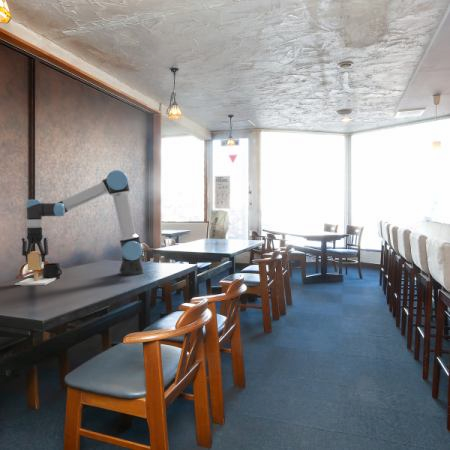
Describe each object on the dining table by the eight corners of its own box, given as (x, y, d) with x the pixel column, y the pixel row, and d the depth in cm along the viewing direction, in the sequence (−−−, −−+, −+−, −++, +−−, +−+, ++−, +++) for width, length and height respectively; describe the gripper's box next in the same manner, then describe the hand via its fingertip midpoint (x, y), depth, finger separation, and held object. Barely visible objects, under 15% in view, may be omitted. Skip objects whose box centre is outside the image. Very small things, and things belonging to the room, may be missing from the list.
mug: (56, 281, 215) (56, 265, 214) (38, 280, 218) (38, 265, 217) (67, 278, 224) (66, 263, 224) (50, 277, 227) (49, 262, 226)
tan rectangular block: (43, 268, 213) (43, 251, 212) (39, 270, 207) (38, 252, 206) (32, 268, 212) (32, 251, 212) (27, 270, 206) (27, 252, 206)
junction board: (58, 278, 222) (58, 266, 222) (45, 284, 202) (44, 272, 202) (30, 278, 221) (30, 267, 220) (14, 285, 201) (14, 272, 201)
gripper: (54, 226, 213) (55, 266, 214) (20, 226, 212) (21, 267, 212) (49, 227, 205) (50, 268, 206) (13, 227, 204) (15, 269, 205)
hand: (35, 267), depth 209 cm, fingers closed on tan rectangular block, 6 cm apart
